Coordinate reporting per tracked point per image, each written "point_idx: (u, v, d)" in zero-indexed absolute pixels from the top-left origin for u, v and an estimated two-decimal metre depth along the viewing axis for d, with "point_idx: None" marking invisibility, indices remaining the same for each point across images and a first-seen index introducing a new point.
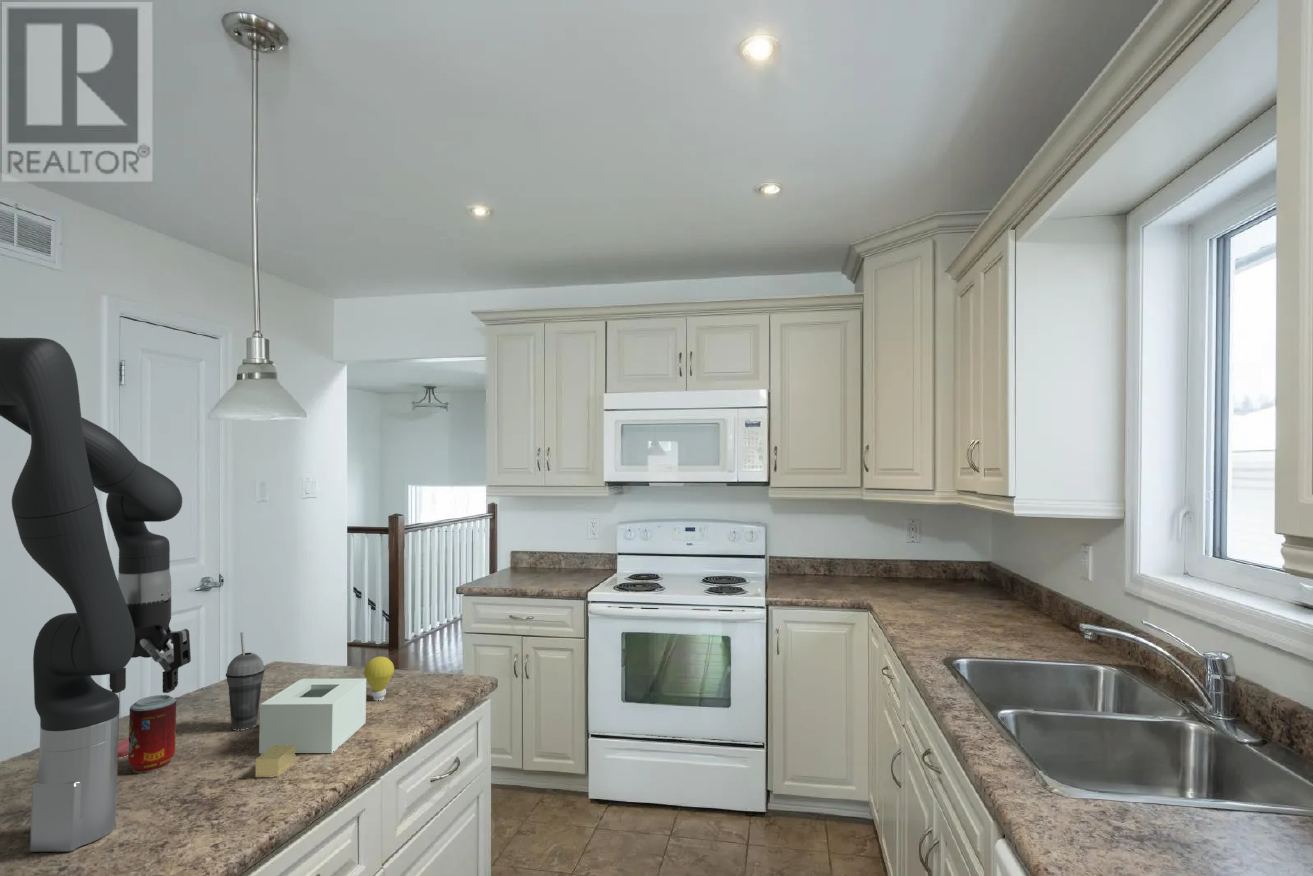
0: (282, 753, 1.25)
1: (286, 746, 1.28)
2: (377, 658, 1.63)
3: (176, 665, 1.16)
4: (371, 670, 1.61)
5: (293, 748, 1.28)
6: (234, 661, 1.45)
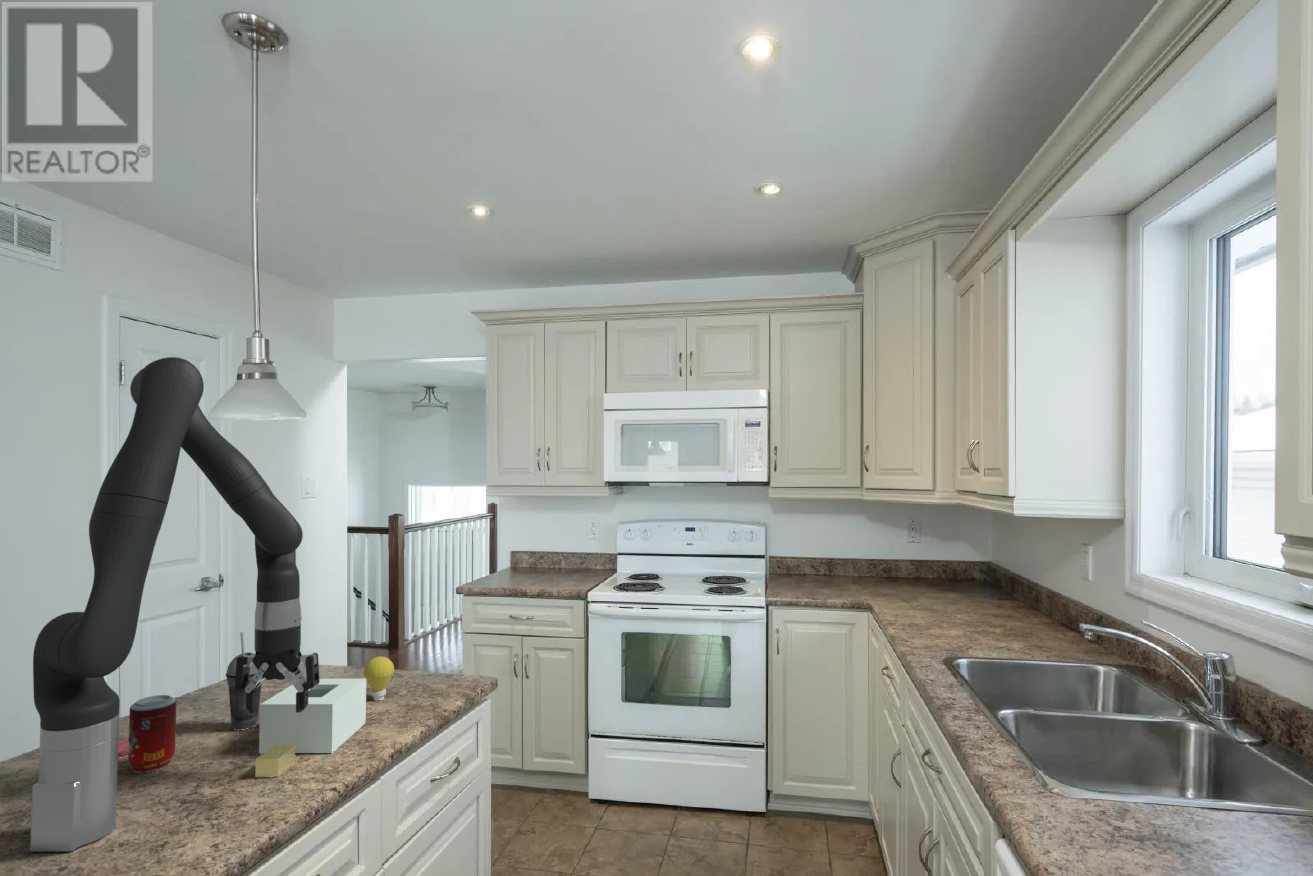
0: (282, 753, 1.25)
1: (286, 746, 1.28)
2: (377, 658, 1.63)
3: (309, 686, 1.25)
4: (371, 670, 1.61)
5: (293, 748, 1.28)
6: (234, 661, 1.45)
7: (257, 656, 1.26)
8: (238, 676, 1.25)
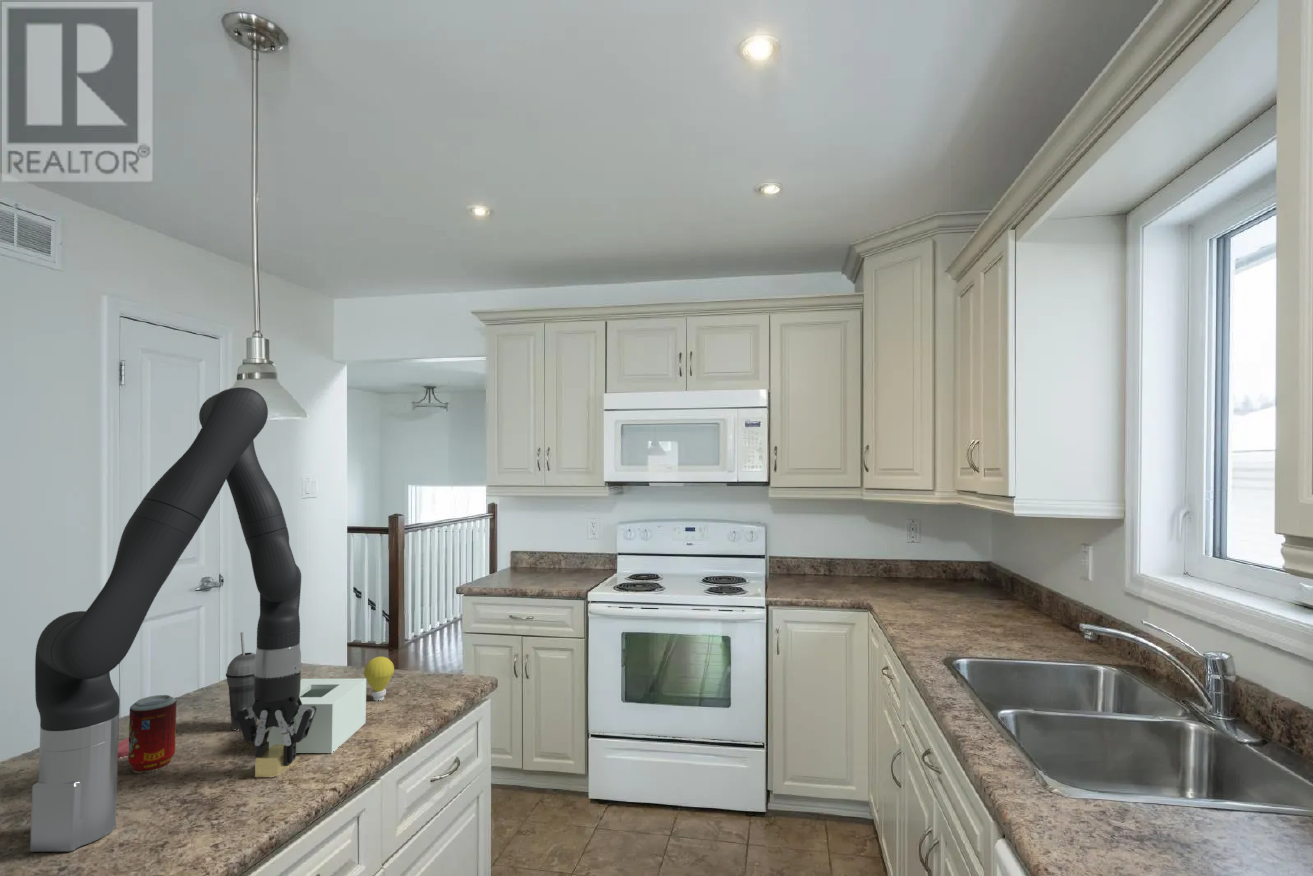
0: (282, 752, 1.25)
1: None
2: (377, 658, 1.63)
3: (296, 740, 1.25)
4: (371, 670, 1.61)
5: None
6: (234, 661, 1.45)
7: (255, 704, 1.25)
8: (244, 729, 1.25)
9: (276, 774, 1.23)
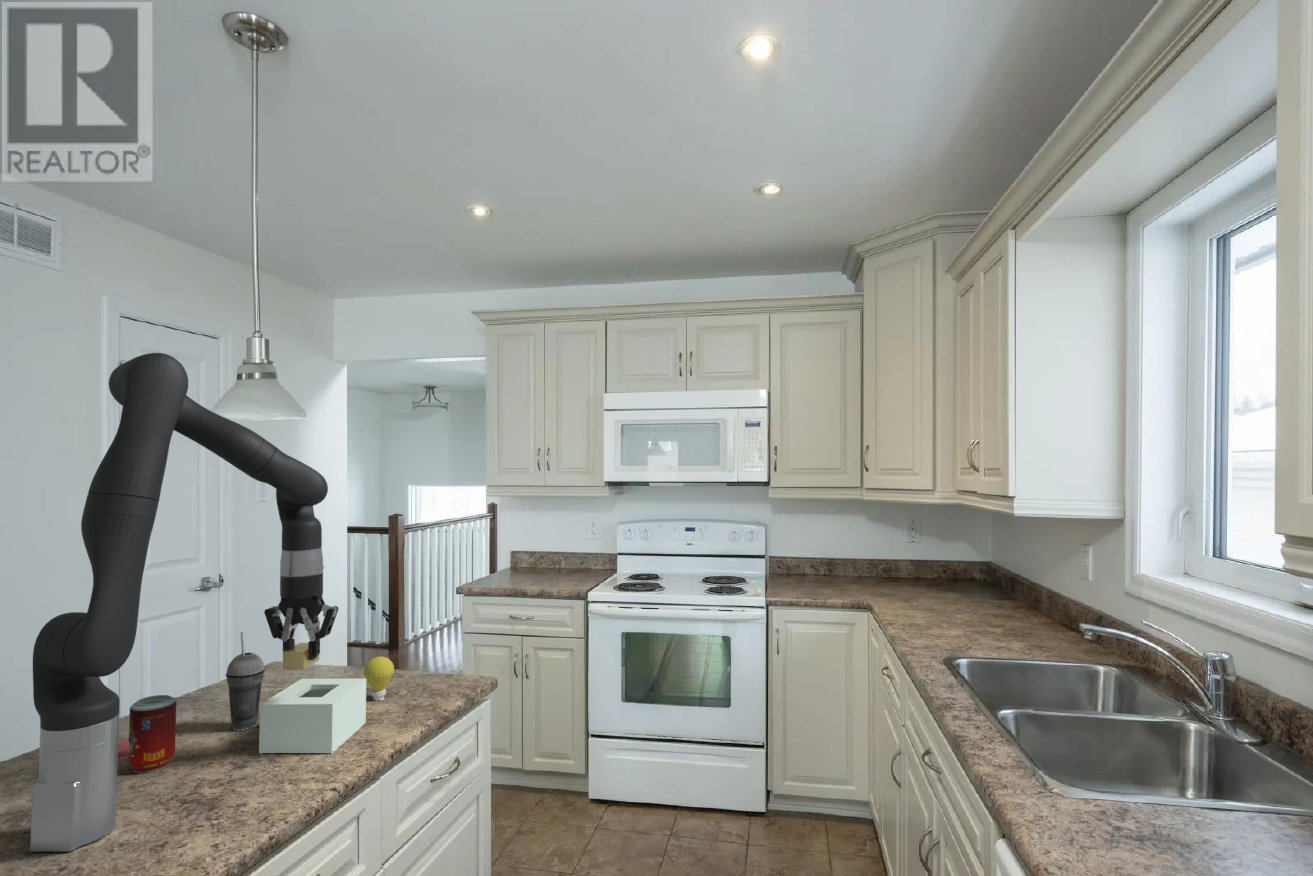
0: (307, 648, 1.33)
1: None
2: (377, 658, 1.63)
3: (320, 636, 1.33)
4: (371, 670, 1.61)
5: None
6: (234, 661, 1.45)
7: (281, 602, 1.33)
8: (271, 626, 1.33)
9: (302, 666, 1.31)
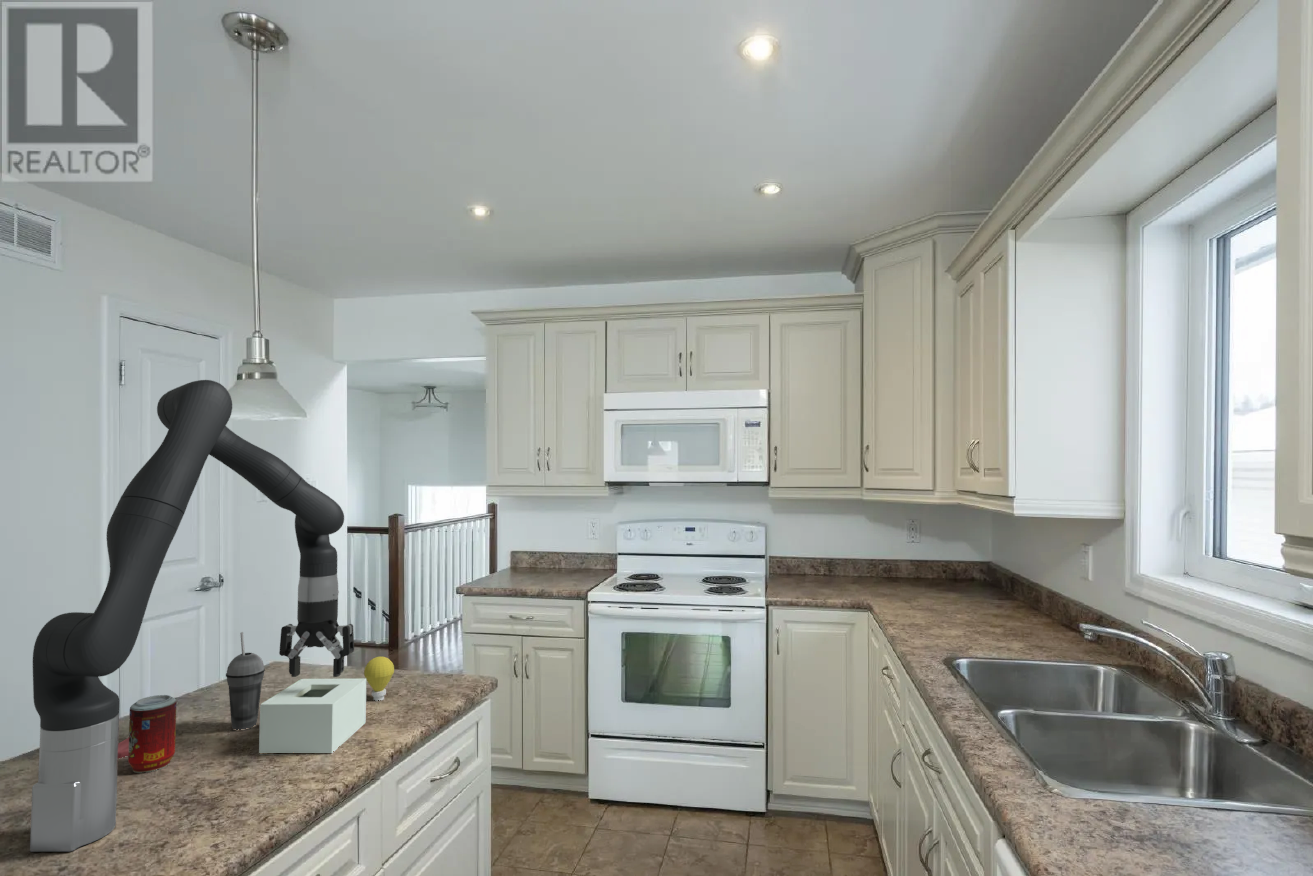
0: None
1: None
2: (377, 658, 1.63)
3: (345, 653, 1.40)
4: (371, 670, 1.61)
5: None
6: (234, 661, 1.45)
7: (299, 626, 1.40)
8: (282, 643, 1.40)
9: None
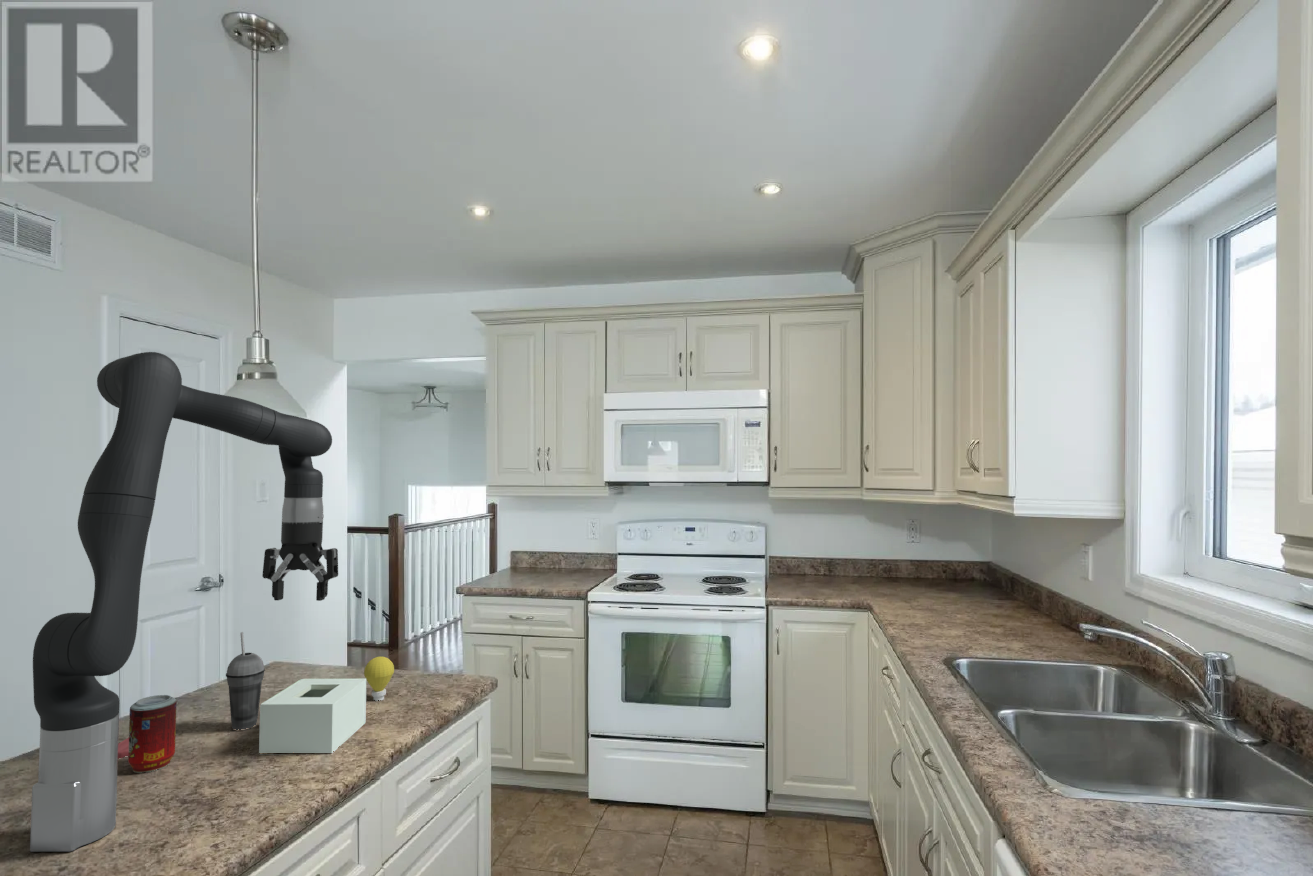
0: None
1: None
2: (377, 658, 1.63)
3: (328, 576, 1.38)
4: (371, 670, 1.61)
5: None
6: (234, 661, 1.45)
7: (283, 548, 1.38)
8: (265, 566, 1.38)
9: None
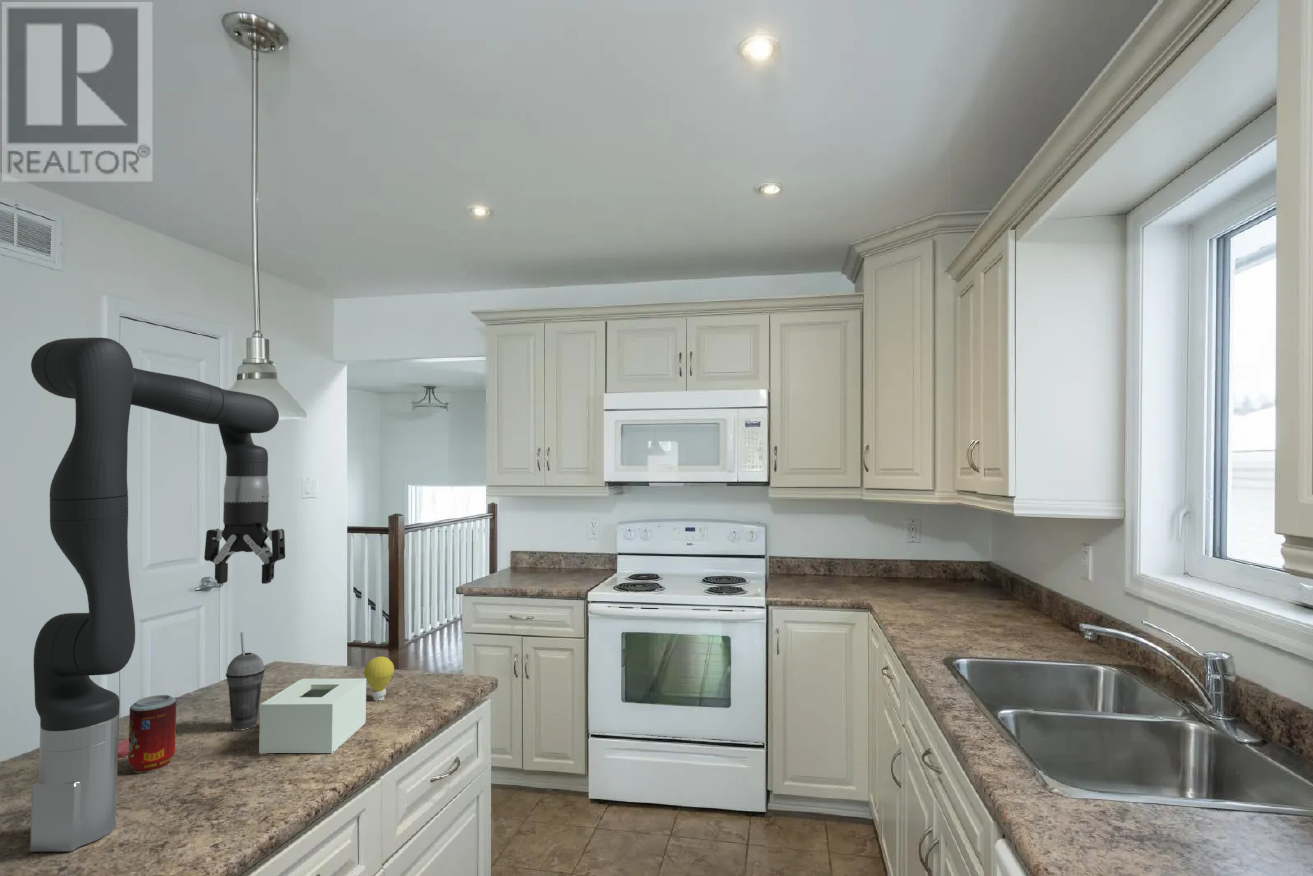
0: None
1: None
2: (377, 658, 1.63)
3: (274, 558, 1.32)
4: (371, 670, 1.61)
5: None
6: (234, 661, 1.45)
7: (226, 529, 1.32)
8: (207, 548, 1.32)
9: None
